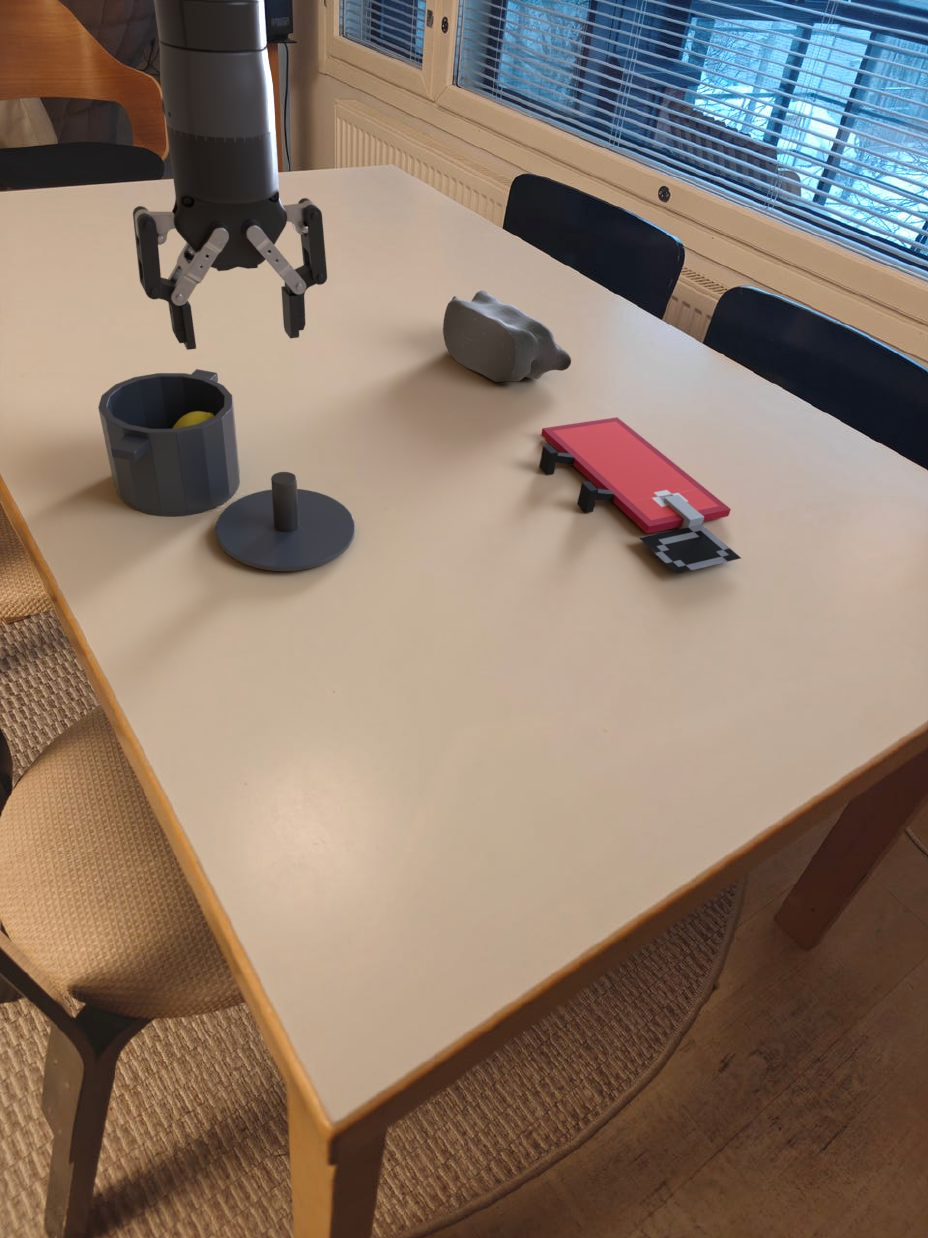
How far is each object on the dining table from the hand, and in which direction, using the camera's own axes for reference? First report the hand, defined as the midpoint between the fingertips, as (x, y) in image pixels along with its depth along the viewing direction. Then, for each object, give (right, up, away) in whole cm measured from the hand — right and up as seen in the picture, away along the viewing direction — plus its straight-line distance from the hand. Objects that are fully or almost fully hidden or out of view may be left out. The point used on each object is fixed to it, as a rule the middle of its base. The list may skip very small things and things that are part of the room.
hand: (241, 339), depth 71 cm
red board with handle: (+38, -9, +27) cm, 47 cm away
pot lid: (+1, -14, +15) cm, 21 cm away
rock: (+24, +13, +51) cm, 58 cm away
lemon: (-12, -8, +20) cm, 24 cm away
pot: (-12, -9, +20) cm, 25 cm away
